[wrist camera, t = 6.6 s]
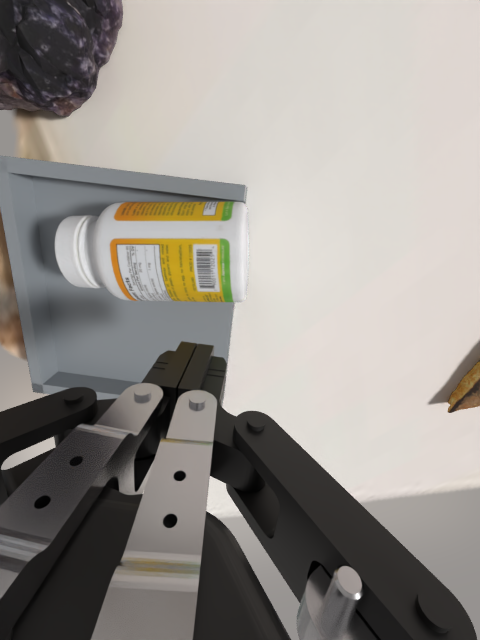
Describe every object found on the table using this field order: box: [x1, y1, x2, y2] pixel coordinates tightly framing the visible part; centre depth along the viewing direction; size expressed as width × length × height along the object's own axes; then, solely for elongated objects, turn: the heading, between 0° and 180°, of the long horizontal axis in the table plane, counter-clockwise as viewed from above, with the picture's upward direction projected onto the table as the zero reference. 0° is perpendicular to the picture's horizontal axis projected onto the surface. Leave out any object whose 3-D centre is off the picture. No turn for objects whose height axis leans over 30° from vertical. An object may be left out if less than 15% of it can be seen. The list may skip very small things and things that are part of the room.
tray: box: [0, 156, 247, 406], centre depth 20 cm, size 16×14×2 cm
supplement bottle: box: [55, 202, 249, 302], centre depth 16 cm, size 5×5×10 cm
